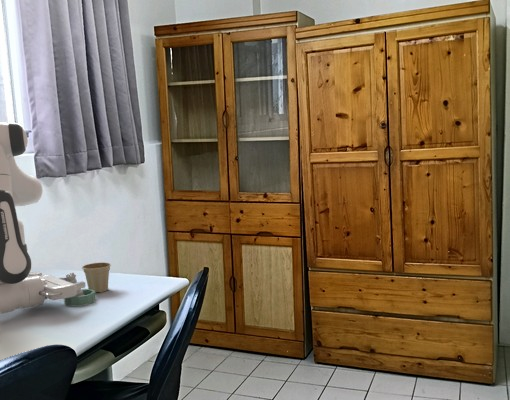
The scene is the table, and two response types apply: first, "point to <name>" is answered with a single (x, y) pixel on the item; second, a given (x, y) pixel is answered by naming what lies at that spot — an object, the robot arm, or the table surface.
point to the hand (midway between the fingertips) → (77, 281)
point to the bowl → (81, 298)
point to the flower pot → (97, 276)
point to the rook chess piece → (72, 279)
